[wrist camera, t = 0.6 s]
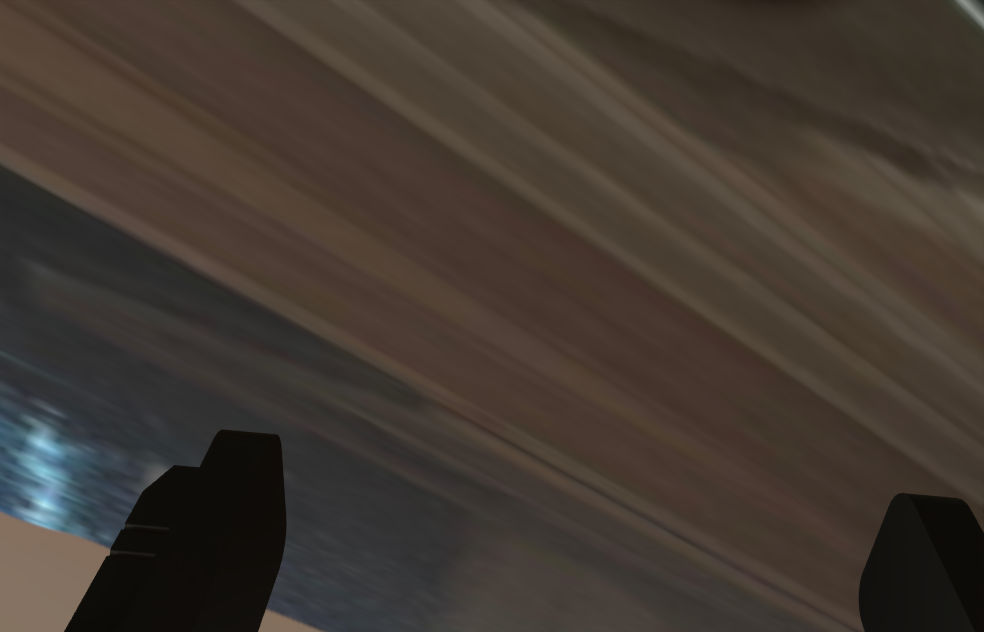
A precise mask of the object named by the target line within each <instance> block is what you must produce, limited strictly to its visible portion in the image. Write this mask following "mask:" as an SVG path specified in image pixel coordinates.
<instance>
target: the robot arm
mask: <svg viewBox="0 0 984 632" xmlns="http://www.w3.org/2000/svg"><path fill="white" fill-rule="evenodd" d="M285 538H286V505H285V491H284V476H283V461H282V448H281V441H280V438H279V436H278V435H277V434H266V433H255V432H244V431H233V430H220V431H219V432H218V433H217V434H216V436H215V438H214V439H213V441H212V443H211V445H210V447H209V449H208V451H207V453H206V455H205V457H204V459H203V461H202V463H201V465H200V467H189V466H178V465H174V466H173V467H172V468H170V469H169V470H168V471H167V472H165V473H164V474H163V475H162V476H161V477H159V478H158V479H157V480H156V481H155V482H153V483H152V484H151V485H150V486H149V487H147V488H146V489H145V490H144V491H143V492H142V494H141V495H140V497H139V499H138V501H137V503H136V504H135V506H134V508H133V510H132V512H131V513H130V515H129V517H128V519H127V520H126V522H125V528H124V530H123V529H121V531H120V533H119V535H118V537H117V538H116V540H115V542H114V544H113V545H112V547H111V549H110V555H109V556H106V558H105V560H104V561H103V563H102V565H101V567H100V569H99V570H98V572H97V574H96V576H95V578H94V579H93V581H92V583H91V585H90V587H89V588H88V590H87V592H86V594H85V595H84V597H83V599H82V601H81V603H80V604H79V606H78V608H77V610H76V612H75V613H74V615H73V617H72V619H71V621H70V622H69V624H68V626H67V627H66V629H65V631H64V632H258V630H259V627H260V624H261V621H262V618H263V616H264V613H265V610H266V607H267V604H268V601H269V598H270V595H271V592H272V589H273V586H274V583H275V580H276V577H277V574H278V571H279V568H280V565H281V561H282V557H283V552H284V546H285ZM859 610H860V616H861V621H862V624H863V628H864V630H865V632H984V533H983V531H982V529H981V527H980V525H979V524H978V522H977V520H976V518H975V516H974V515H973V513H972V511H971V509H970V508H969V506H968V505H967V504H966V502H965V501H963V500H962V499H959V498H950V497H939V496H928V495H917V494H906V493H899V494H897V495H896V496H895V497H894V498H893V499H892V501H891V503H890V505H889V507H888V510H887V512H886V515H885V517H884V520H883V523H882V525H881V528H880V530H879V533H878V535H877V538H876V540H875V543H874V545H873V548H872V550H871V553H870V555H869V558H868V560H867V563H866V566H865V568H864V571H863V573H862V576H861V581H860V587H859Z"/></svg>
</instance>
